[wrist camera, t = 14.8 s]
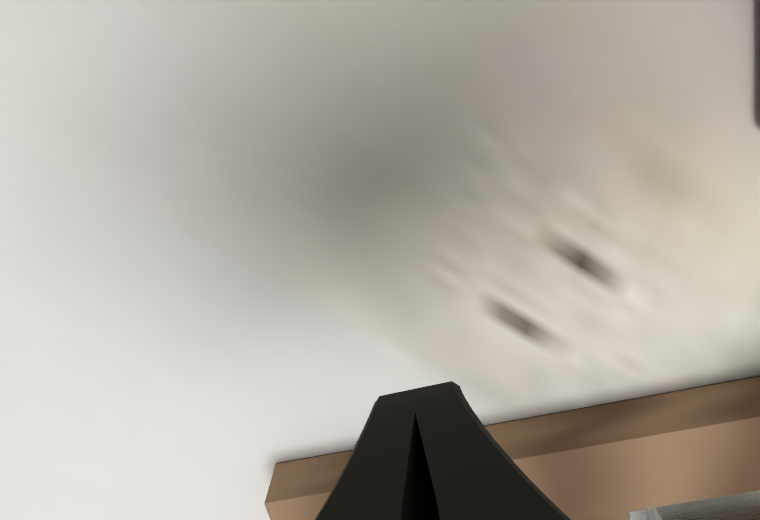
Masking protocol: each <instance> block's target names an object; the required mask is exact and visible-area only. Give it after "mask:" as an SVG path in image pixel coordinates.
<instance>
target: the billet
mask: <svg viewBox="0 0 760 520" xmlns="http://www.w3.org/2000/svg"><path fill="white" fill-rule="evenodd" d="M647 514H648V520H760V490H759V491H752V492H746V493H740V494H734V495H728V496H722V497H716V498H710V499H704V500H697V501H691V502H685V503H679V504H673V505H667V506H661V507H655V508H649V509H647Z"/></svg>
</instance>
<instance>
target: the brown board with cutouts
mask: <svg viewBox="0 0 760 520" xmlns="http://www.w3.org/2000/svg"><path fill="white" fill-rule="evenodd" d="M484 427H485V428H486V429H487V431H488V432H489V433H490V434H491V436H492V437H493V438H494V439H495V441H496V442H497V443H498V444H499V445H500V446H501V448H502V449H503V450H504V451H505V452H506V453H507V455H508V456H509V457H510V458H511V459H512V460H513V462H514V463H515V464H516V465H517V466H518V467H519V468H520V469H521V470H522V471H523V473H524V474H525V475H526V476H527V477H528V478H529V479H530V480H531V481H532V482H533V483H534V484H535V485H536V486H537V487H538V488H539V489H540V490H541V491H542V492H543V493H544V494H545V495H546V496H547V497H548V498H549V499H550V500H551V501H552V502H553V503H554V504H555V505H556V506H557V507H558V508H559V509H560V510H561V511H562V512H563V513H564V514H566V515H567V516H568V517H569V518H570V519H571V520H630V514H629V512H630V511H636V510H642V509H649V508H655V507H661V506H667V505H673V504H679V503H685V502H691V501H697V500H704V499H710V498H716V497H722V496H728V495H734V494H740V493H746V492H752V491H759V490H760V376H759V377H754V378H748V379H743V380H737V381H732V382H726V383H720V384H715V385H709V386H704V387H698V388H693V389H687V390H682V391H676V392H671V393H665V394H660V395H654V396H649V397H643V398H638V399H632V400H627V401H621V402H616V403H610V404H605V405H599V406H593V407H588V408H582V409H577V410H571V411H566V412H560V413H555V414H549V415H544V416H538V417H533V418H527V419H522V420H516V421H511V422H505V423H500V424H494V425H489V426H484ZM352 452H353V450H351V451H345V452H339V453H334V454H328V455H323V456H317V457H312V458H306V459H301V460H295V461H290V462H284V463H279V464H276V466H275V469H274V472H273V476H272V479H271V483H270V486H269V490H268V493H267V497H266V500H265V506H266V509H267V512H268V514H269V517H270V520H315V518H316V517H317V515H318V513H319V512H320V510H321V508H322V507H323V505H324V503H325V502H326V500H327V498H328V497H329V495H330V493H331V491H332V490H333V488H334V486H335V484H336V482H337V480H338V478H339V477H340V475H341V473H342V471H343V469H344V467H345V465H346V463H347V461H348V459H349V458H350V456H351V454H352Z"/></svg>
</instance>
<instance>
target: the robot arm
mask: <svg viewBox="0 0 760 520" xmlns="http://www.w3.org/2000/svg"><path fill="white" fill-rule="evenodd" d="M315 520H571V519H570V518H569V517H568V516H567V515H566V514H564V513H563V512H562V511H561V510H560V509H559V508H558V507H557V506H556V505H555V504H554V503H553V502H552V501H551V500H550V499H549V498H548V497H547V496H546V495H545V494H544V493H543V492H542V491H541V490H540V489H539V488H538V487H537V486H536V485H535V484H534V483H533V482H532V481H531V480H530V479H529V478H528V477H527V476H526V475H525V474H524V473H523V471H522V470H521V469H520V468H519V467H518V466H517V465H516V464H515V463H514V462H513V460H512V459H511V458H510V457H509V456H508V455H507V453H506V452H505V451H504V450H503V449H502V448H501V446H500V445H499V444H498V443H497V442H496V441H495V439H494V438H493V437H492V436H491V434H490V433H489V432H488V431H487V429H486V428H485V427H484V425H483V424H482V423H481V421H480V420H479V419H478V417H477V416H476V414H475V413H474V412H473V410H472V408H471V407H470V405H469V404H468V402H467V400H466V399H465V397H464V395H463V393H462V391H461V388H460V386H458V385H457V384H455V383H454V382H452V381H451V382H446V383H441V384H436V385H432V386H427V387H422V388H417V389H412V390H407V391H402V392H398V393H393V394H388V395H383V396H379V398H378V399H377V401H376V402H375V404H374V406H373V408H372V411H371V413H370V415H369V418H368V420H367V422H366V424H365V427H364V429H363V431H362V433H361V435H360V437H359V439H358V441H357V444H356V446H355V448H354V450H353V452H352V454H351V456H350V458H349V459H348V461H347V463H346V465H345V467H344V469H343V471H342V473H341V475H340V477H339V478H338V480H337V482H336V484H335V486H334V488H333V490H332V491H331V493H330V495H329V497H328V498H327V500H326V502H325V503H324V505H323V507H322V508H321V510H320V512H319V513H318V515H317V517H316V518H315Z"/></svg>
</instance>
